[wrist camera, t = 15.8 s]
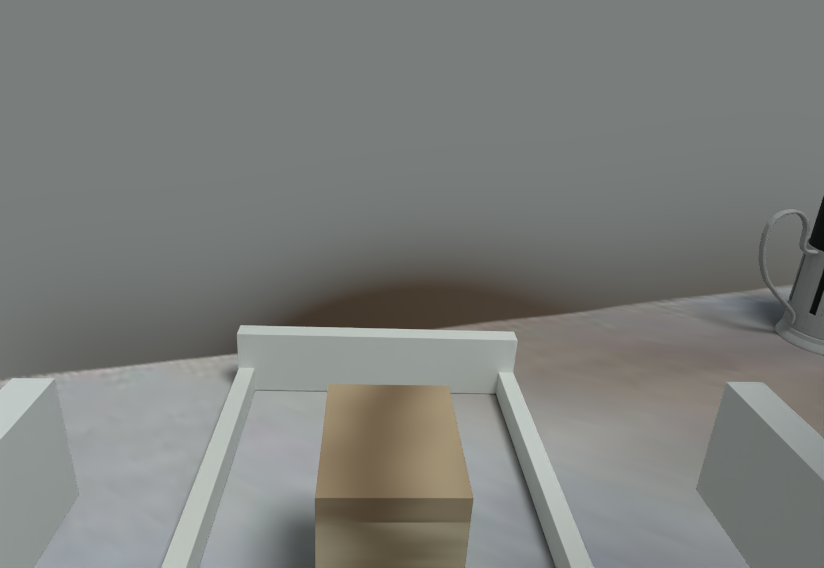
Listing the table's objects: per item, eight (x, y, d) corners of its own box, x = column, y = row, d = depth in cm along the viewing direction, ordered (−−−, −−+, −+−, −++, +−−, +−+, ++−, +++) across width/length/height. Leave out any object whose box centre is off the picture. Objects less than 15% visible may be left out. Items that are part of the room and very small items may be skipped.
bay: (506, 384, 52) (513, 331, 50) (648, 755, 26) (675, 674, 24) (243, 379, 51) (240, 325, 49) (101, 774, 24) (82, 687, 22)
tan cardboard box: (433, 551, 35) (448, 385, 31) (449, 690, 28) (473, 498, 23) (327, 551, 35) (328, 383, 30) (315, 693, 27) (315, 498, 23)
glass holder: (893, 359, 61) (952, 213, 55) (760, 359, 59) (806, 208, 54) (829, 320, 69) (875, 189, 63) (711, 319, 67) (747, 185, 62)
